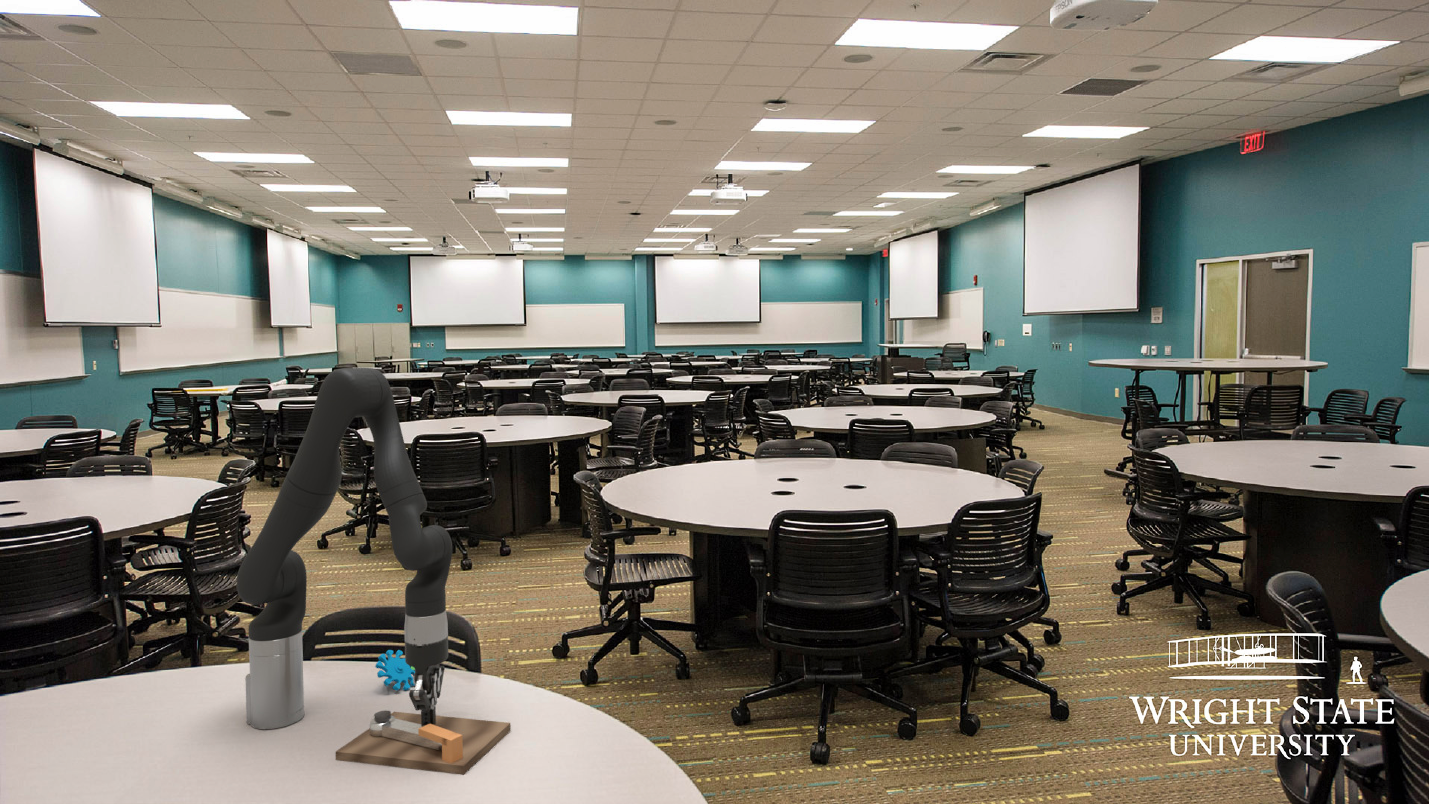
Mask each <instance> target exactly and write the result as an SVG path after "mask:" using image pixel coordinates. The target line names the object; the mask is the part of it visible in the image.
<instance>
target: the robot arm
mask: <svg viewBox="0 0 1429 804" xmlns="http://www.w3.org/2000/svg"><path fill="white" fill-rule="evenodd" d="M394 399H395V398H394V395H393V392H392V389H391V386H390V384H389V381H388V378H387V377H386V376H385V374H383V373H382V372H381V371H380V370H378V369H376V368H372V367H344V368H337V369H334V370H333V371H331V372H329V373H328V375H326V377H325V378H324V380H323V381H322V383H321V385H320V388H319V391H318V394H317V397H316V400H315V403H314V405H313V409H312V411H311V412H312V413H311V416H310V419H309V422H308V425H307V428H306V431H305V433H304V436H303V438H302V441H301V443H300V444H299V447H298V450H297V452H296V455H295V457H294V459H293V462H292V464H291V465H290V467H289V469H288V471H287V473H286V476H285V478H284V481H283V482H282V485H281V486H280V489H279V492H278V495H277V497H276V500H275V502H274V504H273V506H272V508H271V510H270V511H269V513H268V517H267V518H266V520H265V522H264V525H263V526H262V528H261V530H260V533H259V534H258V536H257V537H256V539H255V541H254V542H253V544H252V546H251V547H250V549H249V551H248V552H247V554H246V555H245V557H244V559H243V561H242V563H241V564H240V566H239V569H238V572H237V576H236V584H235V585H236V591H237V594H238V596H239V598H240V599H241V600H242V601H243V602H244V603H246V604H248V605H251V606H252V605H253V606H255V605H256V606H257V605H265V604H266V605H265V607H264V608H263V609H262V611H261V612H260V613H259V614H258V615H257V616H256V617H254V618H253V619H252V620H251V621H250V623H249V625H248V630H247V631H248V655H249V657H248V659H249V660H248V661H249V673H247V674H246V675H245V706H246V707H245V709H246V713H245V714H246V715H245V716H246V724H247V725H251V727H253V728H255V729H258V730H271V729H278V728H283V727H287V726H290V725H292V724H296V723H297V722H299V721H300V720H301V719H302V718H304V716H305V698H304V697H305V696H304V695H305V694H304V693H305V692H304V691H305V690H304V688H305V687H304V656H303V655H304V654H303V650H304V649H303V621H304V618H305V616H306V613H307V608H306V607H307V586H308V585H307V581H308V580H307V579H308V577H307V569H306V565H305V563H304V560H303V558H302V557H301V555H300V554H299V553H298V552H296V551H295V550H293V548H294V547H295V546H296V544H297V543H298V542H299V541H300V540H301V539H302V538H303V537H304V536H305V535H306V534H307V533H308V532H310V531H311V529H313V527H315V526H316V525H317V524H318V523H319V521H320V520H321V519H322V518H323V517H324V516H325V514H326V513H327V512H328V510H329V509H330V507H331V505H332V504H333V501H334V498H335V496H336V494H337V492H338V490H339V488H340V485H341V482H342V477H343V469H342V462H341V455H340V447H341V443H342V440H343V438H344V436H345V434H346V431H347V430H348V428H349V426H350V424H351V423H352V421H353V420H354V419H356V418H363V419H364V421H365V422H366V424H367V427H368V428H369V431H370V432H371V435H372V440H373V447H374V459H373V477H374V483H375V487H376V490H377V492H378V494H379V497H380V500H381V502H382V505H383V506H384V508H385V511H386V513H387V515H388V523H389V525H388V526H389V531H390V538H391V539H390V540H391V546H392V550H393V554H394V557H395V558H396V559H397V561H398V562H399V564H400V565H401V566H402V567H404V568H405V569H406V570H408V571H413V572H414V571H415V572H416V574H415V576H414V577H413V579H411V580H410V581H409V582H408V583H407V585H406V586H405V589H404V591H405V592H404V602H405V603H404V605H405V607H404V608H405V609H404V611H405V614H404V615H405V619H404V628H403V629H404V658H405V662H406V663H407V664H408V665H409V666H412V667H414V668H415V674H414V675H412V677H413V683H414V684H415V685H414V689H409V693H408V694H409V699H410V701H411V702H412V705H413V707H414V709H415V710H414V711H420V714H421V725H428V724H433V725H435V724H436V716H437V714H436V713H437V712H436V710H437V709H436V706H437V705H438V699H440V697H441V691H442V685H443V679H444V674H445V670H446V669H445V666H444V665H440V664H442V663H444V662H445V661H447V659H448V658H449V630H448V629H449V628H448V627H449V625H448V622H449V621H448V616H447V601H446V586H447V585H446V584H447V581H448V576H449V574H450V568H451V564H452V560H453V559H452V558H453V542H452V539H451V535H450V534H449V532H448V531H447V530H446V528H445V527H443V526H441V525H437V524H436V525H435V524H433V525H427V526H424V527H422V524H421V523H422V522H421V516H420V515H422V514H423V513H424V512H425V511H426V510H427V508H428V502H427V499H426V496H425V495H424V492H423V489H422V487H421V485H420V482H419V480H418V477H417V475H416V473H415V472H414V471H415V470H414V468H413V466H412V463H411V460H410V458H409V454H408V452H407V448H406V445H405V440H404V437H403V432H402V427H401V422H400V420H399V416H398V411H397V407H396V404H395V400H394Z"/></svg>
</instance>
